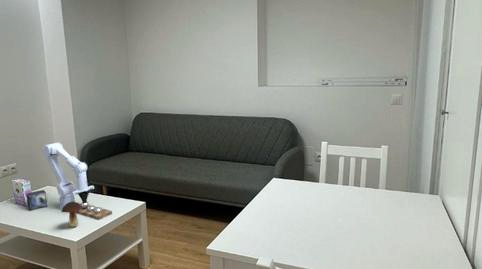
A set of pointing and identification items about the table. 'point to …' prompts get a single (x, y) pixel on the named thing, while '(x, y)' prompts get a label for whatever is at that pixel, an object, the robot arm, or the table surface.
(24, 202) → the candy box
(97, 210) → the button
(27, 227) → the table surface
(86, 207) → the button
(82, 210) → the button panel
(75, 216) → the decorative mushroom
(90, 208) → the button middle
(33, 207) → the small box
